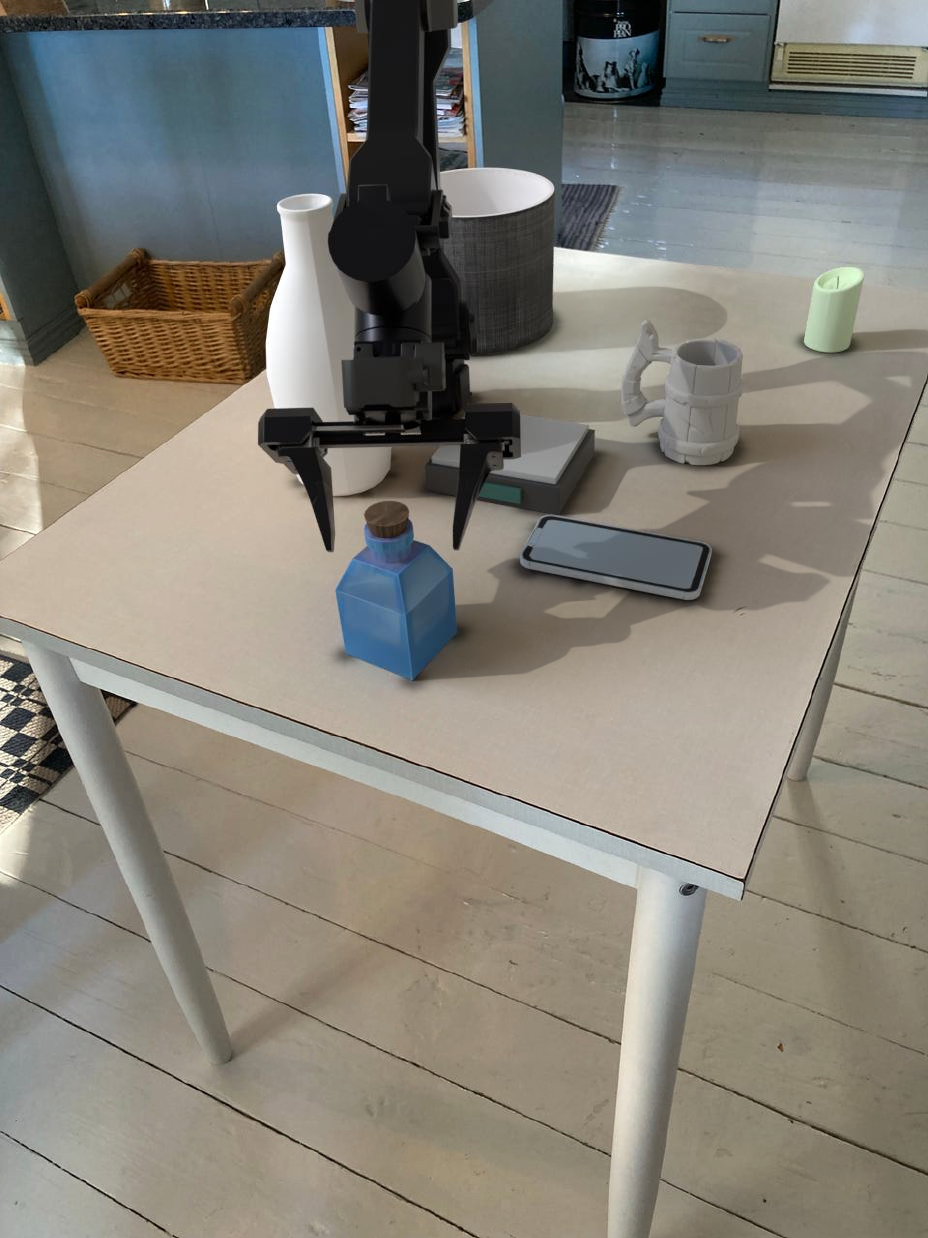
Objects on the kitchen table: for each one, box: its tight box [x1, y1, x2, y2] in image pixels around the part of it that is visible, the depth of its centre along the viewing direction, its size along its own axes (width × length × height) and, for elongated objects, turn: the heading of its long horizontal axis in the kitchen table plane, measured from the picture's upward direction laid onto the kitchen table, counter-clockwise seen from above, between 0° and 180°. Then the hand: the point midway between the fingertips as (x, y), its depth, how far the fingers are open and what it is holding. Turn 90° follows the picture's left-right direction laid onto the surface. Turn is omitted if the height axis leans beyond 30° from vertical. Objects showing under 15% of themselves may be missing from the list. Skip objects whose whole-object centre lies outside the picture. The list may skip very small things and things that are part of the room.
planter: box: [440, 167, 556, 356], centre depth 117 cm, size 18×18×16 cm
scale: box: [424, 414, 596, 516], centre depth 94 cm, size 13×11×4 cm
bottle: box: [265, 193, 392, 497], centre depth 88 cm, size 11×11×25 cm
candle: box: [803, 266, 865, 354], centre depth 110 cm, size 5×5×8 cm
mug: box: [620, 318, 744, 466], centre depth 94 cm, size 8×12×12 cm, turn 65°
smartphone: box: [519, 514, 713, 601], centre depth 83 cm, size 7×1×15 cm
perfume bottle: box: [334, 500, 458, 681], centre depth 73 cm, size 6×6×12 cm
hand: (392, 550), depth 72 cm, fingers open, 9 cm apart
